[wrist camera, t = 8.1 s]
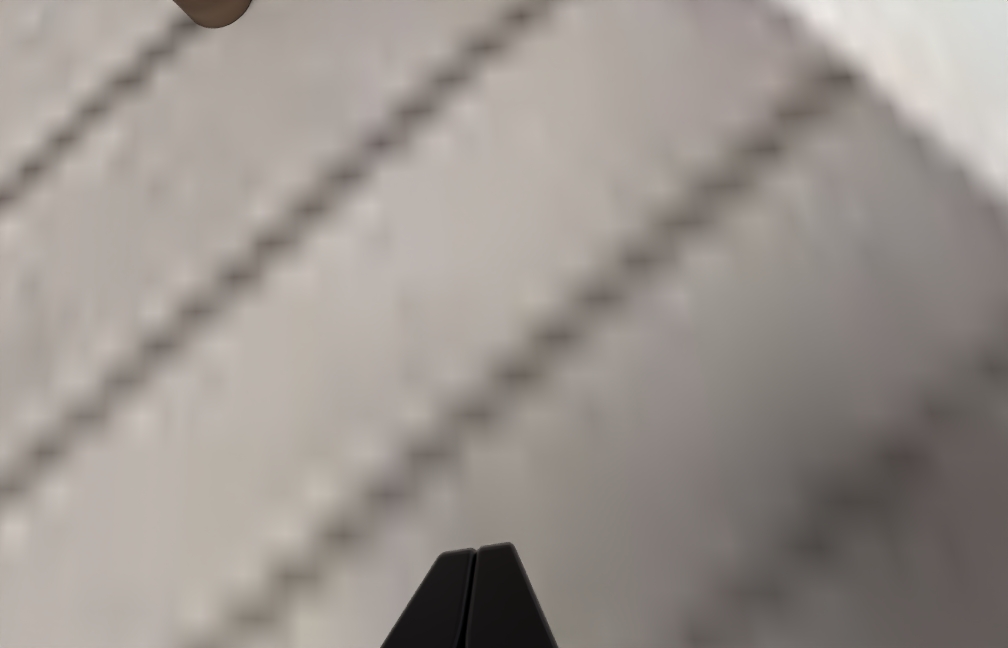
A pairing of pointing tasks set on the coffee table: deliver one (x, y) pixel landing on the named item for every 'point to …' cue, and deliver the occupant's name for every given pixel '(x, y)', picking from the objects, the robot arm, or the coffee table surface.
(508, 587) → the robot arm
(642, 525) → the coffee table surface
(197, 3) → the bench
